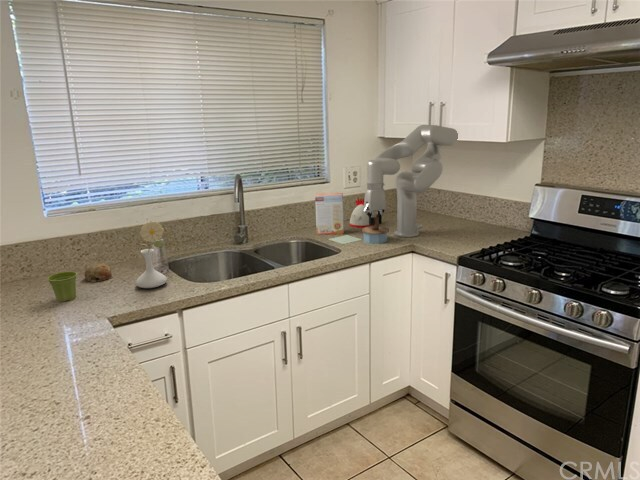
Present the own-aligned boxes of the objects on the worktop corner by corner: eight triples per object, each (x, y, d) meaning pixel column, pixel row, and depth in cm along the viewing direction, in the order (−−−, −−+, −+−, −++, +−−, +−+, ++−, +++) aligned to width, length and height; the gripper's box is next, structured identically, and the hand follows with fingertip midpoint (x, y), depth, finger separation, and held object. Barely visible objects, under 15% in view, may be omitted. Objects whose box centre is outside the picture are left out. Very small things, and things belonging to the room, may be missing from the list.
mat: (347, 235, 243) (347, 234, 243) (362, 240, 233) (362, 239, 233) (328, 239, 236) (328, 239, 236) (342, 244, 227) (342, 244, 227)
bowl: (376, 236, 239) (376, 227, 238) (391, 241, 230) (391, 231, 229) (359, 240, 233) (359, 230, 232) (374, 245, 224) (374, 235, 223)
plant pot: (69, 304, 166) (65, 280, 163) (45, 303, 167) (40, 279, 165) (86, 294, 175) (82, 271, 172) (63, 293, 176) (59, 271, 174)
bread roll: (85, 290, 188) (81, 276, 183) (87, 273, 196) (83, 258, 191) (112, 287, 191) (108, 273, 186) (113, 270, 199) (110, 255, 193)
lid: (376, 226, 239) (376, 213, 237) (394, 231, 229) (394, 217, 227) (356, 230, 232) (356, 217, 230) (374, 235, 222) (374, 221, 220)
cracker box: (344, 232, 250) (343, 192, 244) (343, 235, 244) (342, 194, 239) (317, 232, 251) (316, 193, 246) (316, 235, 246) (314, 195, 240)
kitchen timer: (359, 221, 273) (359, 195, 269) (379, 224, 264) (379, 197, 260) (344, 226, 263) (344, 199, 259) (365, 229, 254) (364, 201, 250)
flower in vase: (130, 290, 177) (120, 225, 170) (145, 280, 187) (136, 217, 181) (163, 291, 175) (155, 225, 168) (176, 280, 186) (169, 217, 179)
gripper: (383, 183, 232) (383, 220, 237) (356, 187, 223) (356, 225, 228) (393, 185, 226) (393, 223, 231) (366, 189, 217) (367, 228, 222)
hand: (375, 224), depth 229 cm, fingers open, 4 cm apart
